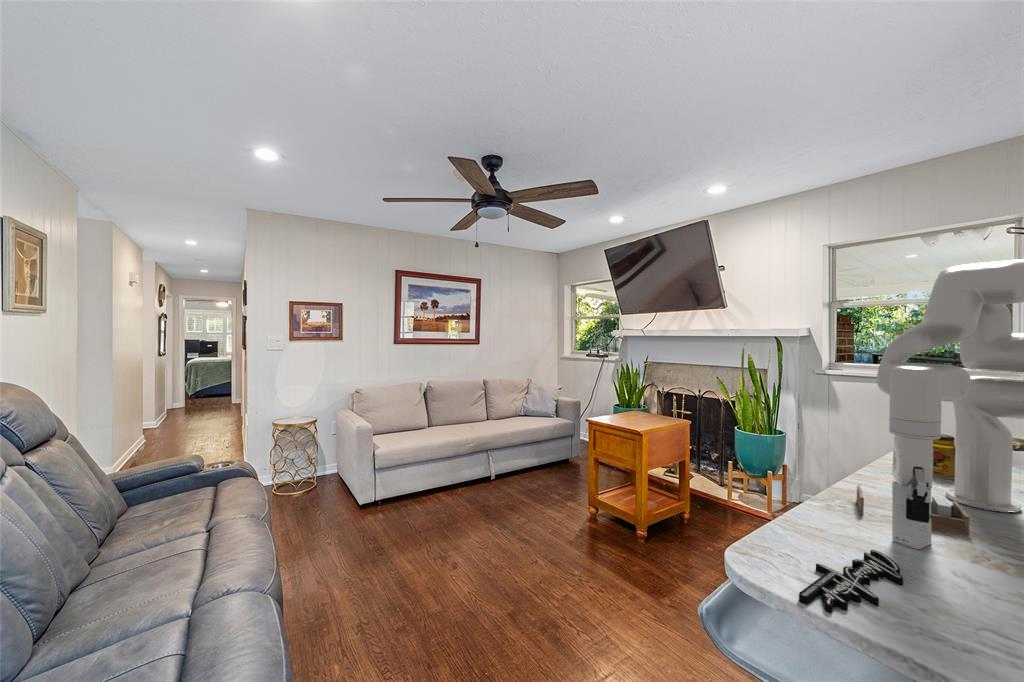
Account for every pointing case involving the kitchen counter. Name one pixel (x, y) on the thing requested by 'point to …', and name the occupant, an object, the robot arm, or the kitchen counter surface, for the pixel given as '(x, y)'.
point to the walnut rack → (937, 517)
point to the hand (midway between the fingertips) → (912, 511)
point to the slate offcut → (940, 507)
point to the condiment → (944, 457)
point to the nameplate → (851, 581)
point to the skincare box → (908, 521)
